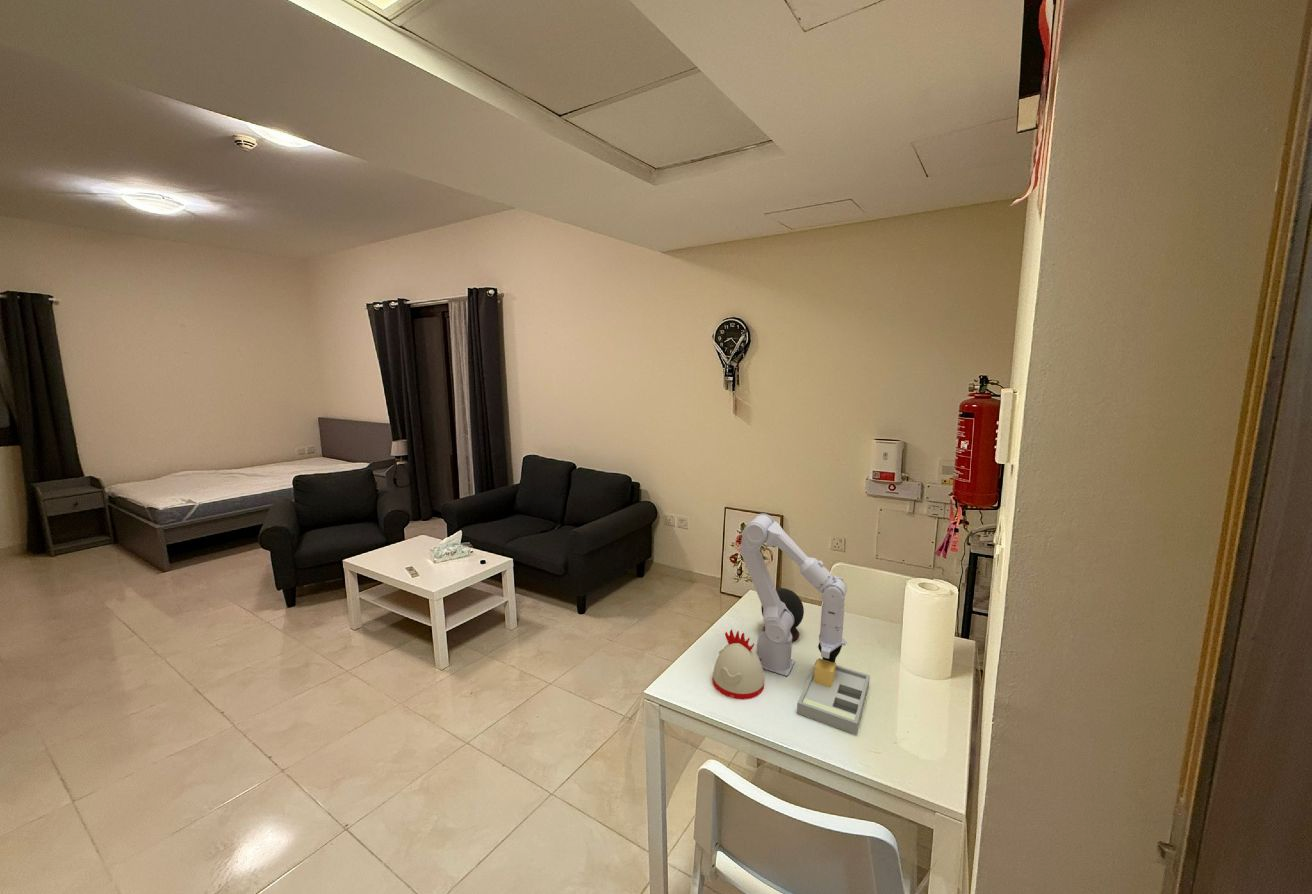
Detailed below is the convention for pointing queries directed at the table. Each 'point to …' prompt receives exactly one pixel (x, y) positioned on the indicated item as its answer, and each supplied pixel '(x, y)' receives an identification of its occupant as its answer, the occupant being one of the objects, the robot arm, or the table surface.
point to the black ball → (791, 609)
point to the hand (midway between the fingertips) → (828, 668)
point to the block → (824, 672)
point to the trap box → (836, 699)
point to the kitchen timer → (738, 669)
